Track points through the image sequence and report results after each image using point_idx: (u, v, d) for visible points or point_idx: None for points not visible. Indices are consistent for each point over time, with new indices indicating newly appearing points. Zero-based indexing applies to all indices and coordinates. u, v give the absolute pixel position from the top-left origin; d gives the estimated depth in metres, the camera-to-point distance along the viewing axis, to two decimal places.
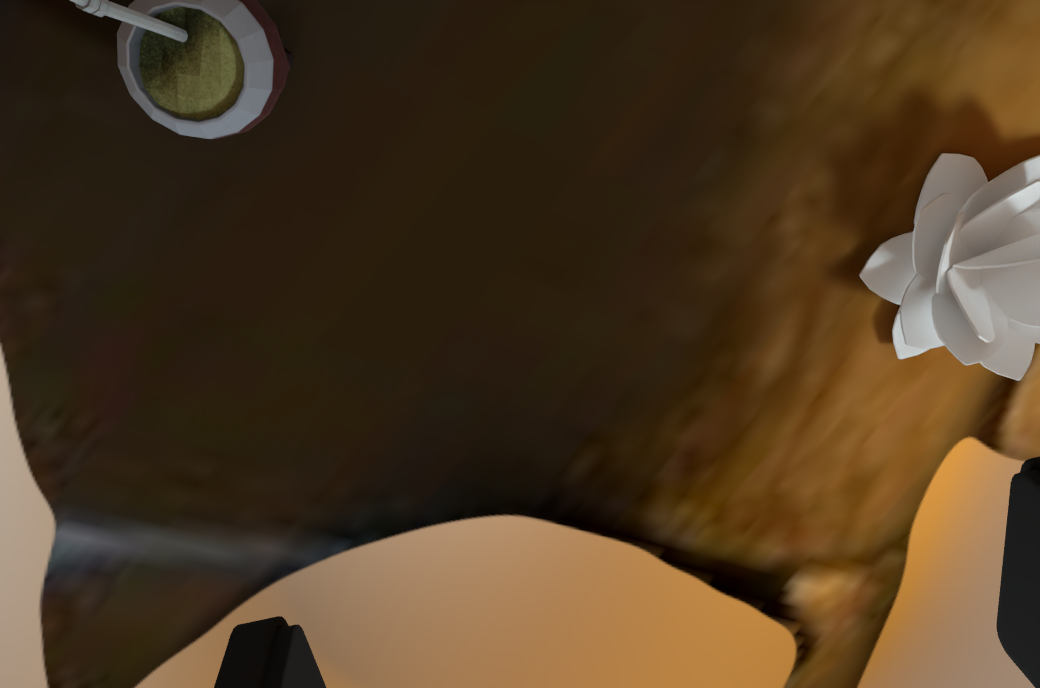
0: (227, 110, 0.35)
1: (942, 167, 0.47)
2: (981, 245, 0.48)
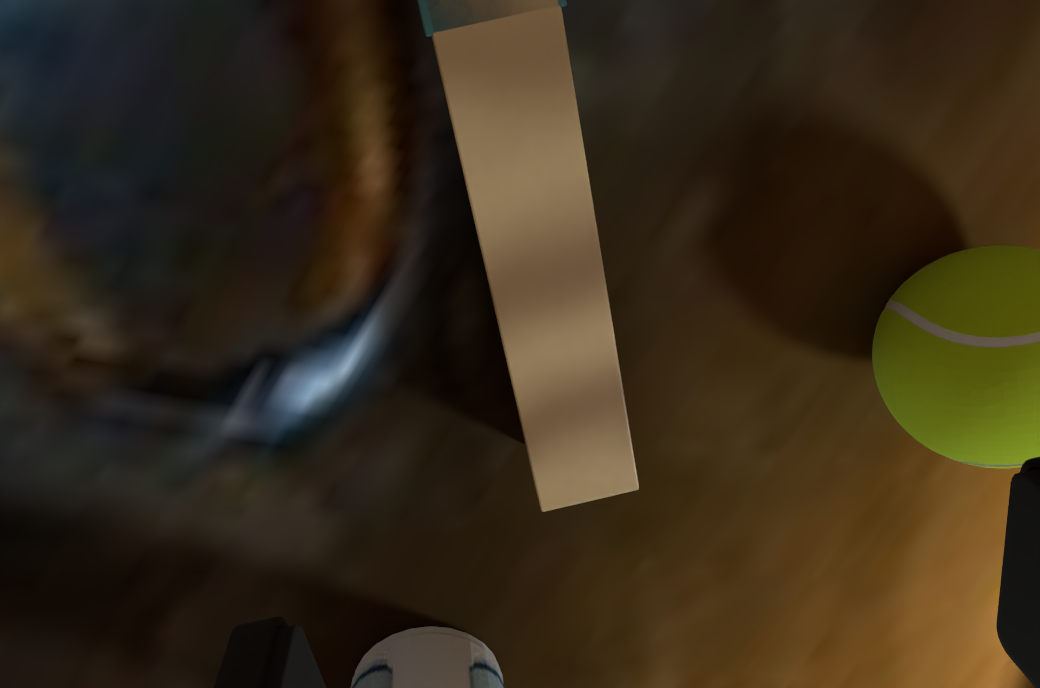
0: None
1: None
2: None
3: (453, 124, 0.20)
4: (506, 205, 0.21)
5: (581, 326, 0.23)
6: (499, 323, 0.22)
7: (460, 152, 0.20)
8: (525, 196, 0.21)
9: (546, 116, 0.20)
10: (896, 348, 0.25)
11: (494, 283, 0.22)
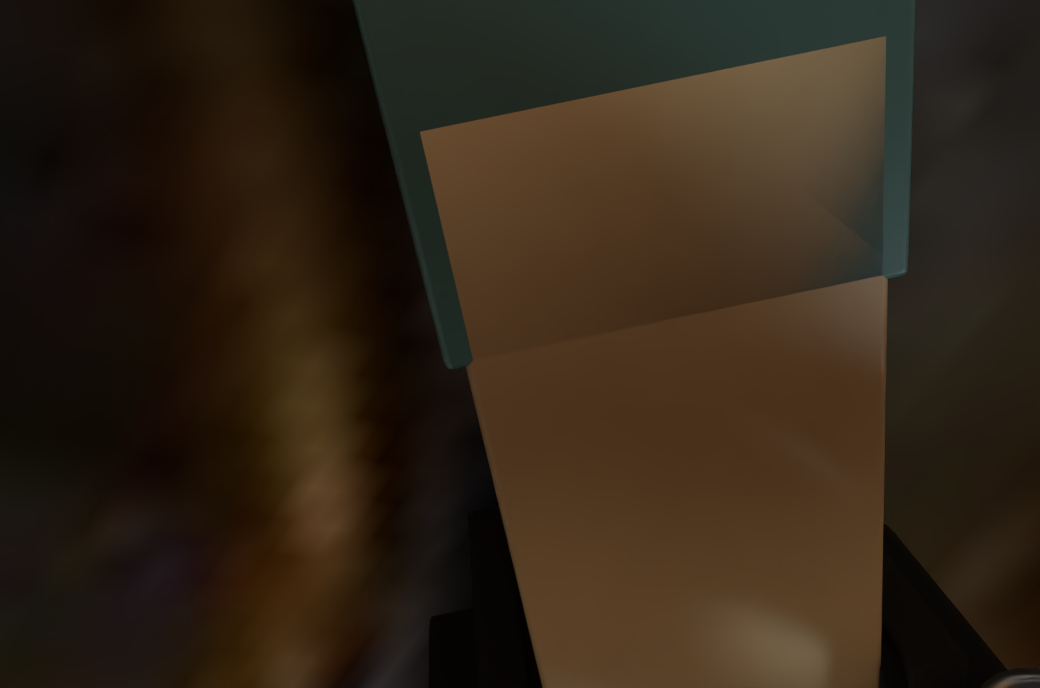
0: None
1: None
2: None
3: (521, 586, 0.07)
4: None
5: None
6: None
7: (537, 647, 0.07)
8: None
9: (791, 558, 0.07)
10: None
11: None
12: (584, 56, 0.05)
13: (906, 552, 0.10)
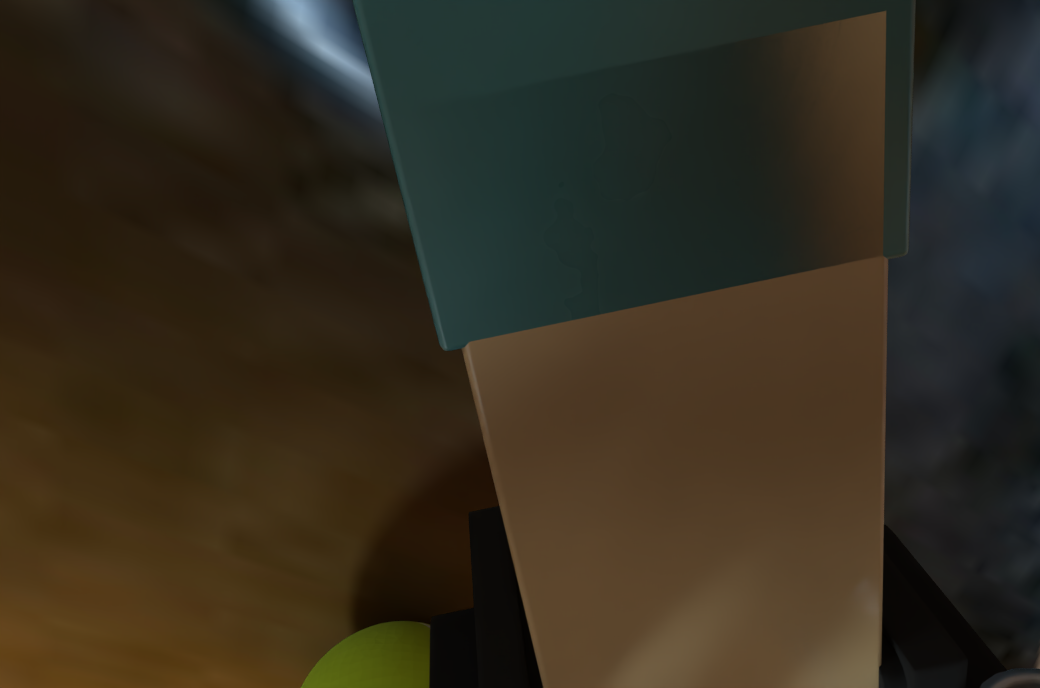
0: None
1: None
2: None
3: (519, 572, 0.07)
4: None
5: None
6: None
7: (535, 634, 0.07)
8: None
9: (792, 543, 0.07)
10: (409, 659, 0.24)
11: None
12: (581, 31, 0.05)
13: (905, 552, 0.10)
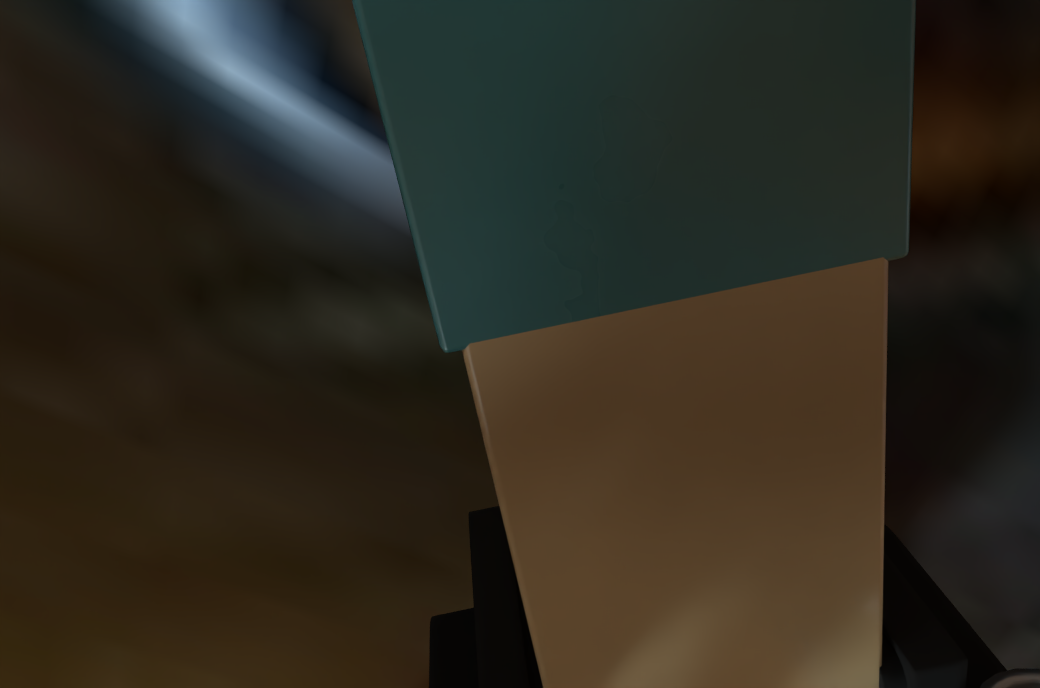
0: None
1: None
2: None
3: (519, 574, 0.07)
4: None
5: None
6: None
7: (536, 636, 0.07)
8: None
9: (792, 545, 0.07)
10: None
11: None
12: (581, 33, 0.05)
13: (905, 552, 0.10)
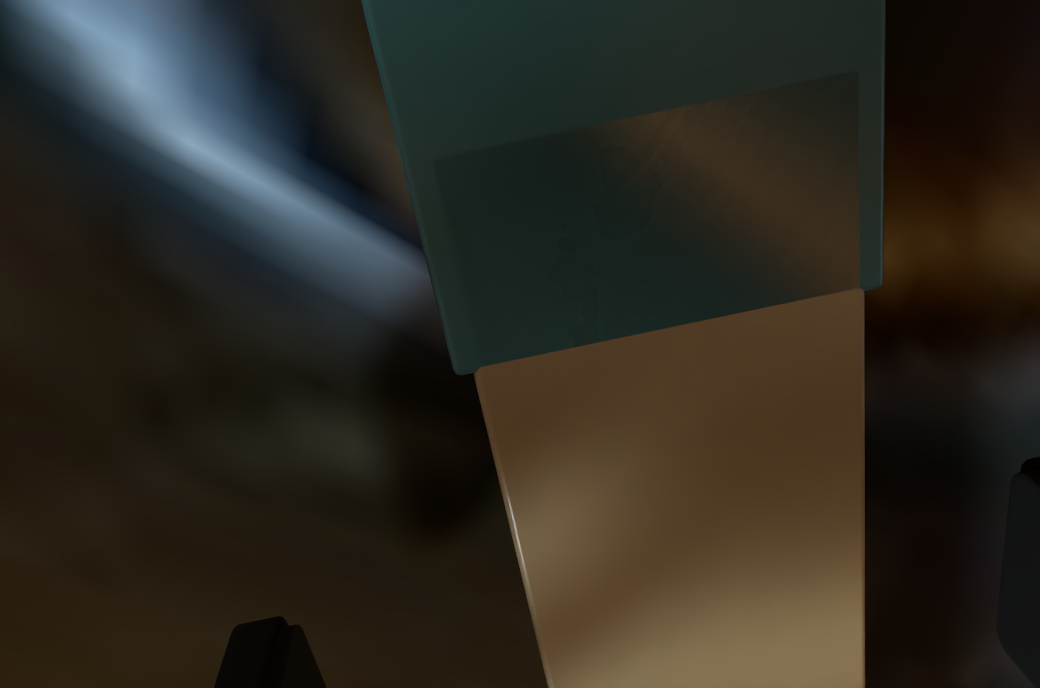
0: None
1: None
2: None
3: (525, 578, 0.07)
4: None
5: None
6: None
7: (541, 636, 0.08)
8: None
9: (778, 551, 0.07)
10: None
11: None
12: (582, 90, 0.05)
13: None
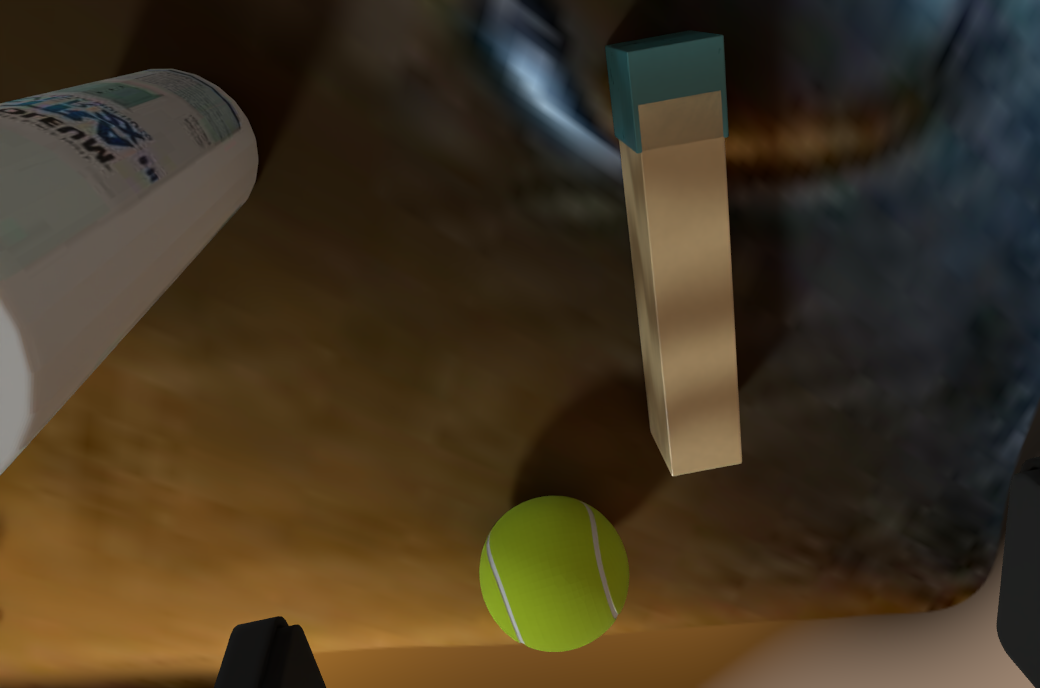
0: None
1: None
2: None
3: (646, 208, 0.30)
4: (674, 261, 0.31)
5: (714, 345, 0.33)
6: (659, 340, 0.33)
7: (649, 226, 0.31)
8: (687, 256, 0.31)
9: (707, 205, 0.30)
10: (570, 512, 0.36)
11: (660, 313, 0.32)
12: (667, 92, 0.29)
13: None
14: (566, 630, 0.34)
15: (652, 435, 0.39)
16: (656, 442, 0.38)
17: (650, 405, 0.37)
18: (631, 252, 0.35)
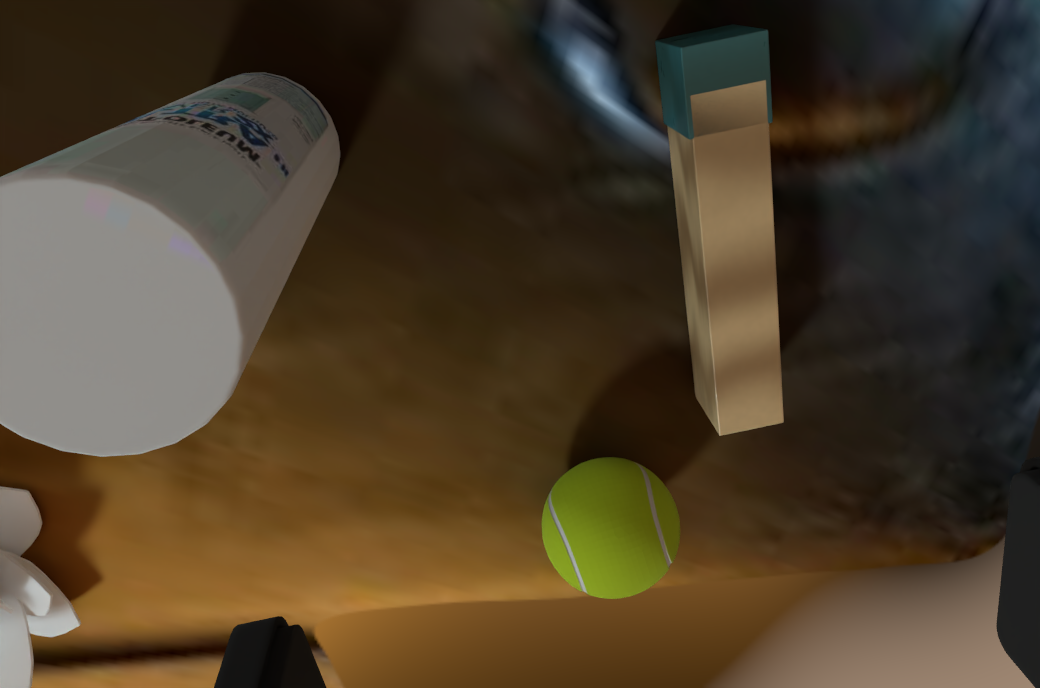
0: None
1: (16, 498, 0.40)
2: None
3: (697, 189, 0.33)
4: (723, 237, 0.34)
5: (758, 313, 0.36)
6: (708, 310, 0.36)
7: (699, 206, 0.34)
8: (734, 232, 0.34)
9: (752, 185, 0.33)
10: (625, 471, 0.39)
11: (709, 285, 0.35)
12: (717, 83, 0.31)
13: None
14: (626, 576, 0.38)
15: None
16: (702, 406, 0.41)
17: (696, 372, 0.40)
18: (678, 230, 0.38)
